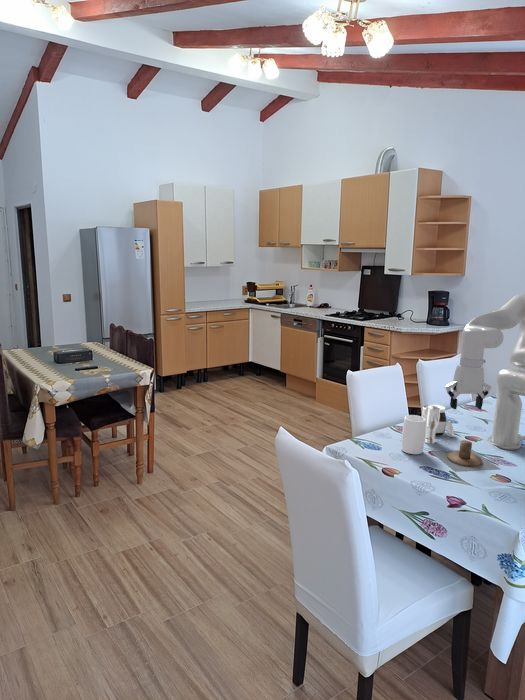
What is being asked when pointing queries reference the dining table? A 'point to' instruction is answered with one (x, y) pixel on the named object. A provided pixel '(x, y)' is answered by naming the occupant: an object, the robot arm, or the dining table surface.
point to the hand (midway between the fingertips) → (465, 408)
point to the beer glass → (431, 422)
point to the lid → (464, 455)
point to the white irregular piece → (444, 424)
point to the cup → (413, 434)
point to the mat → (484, 466)
